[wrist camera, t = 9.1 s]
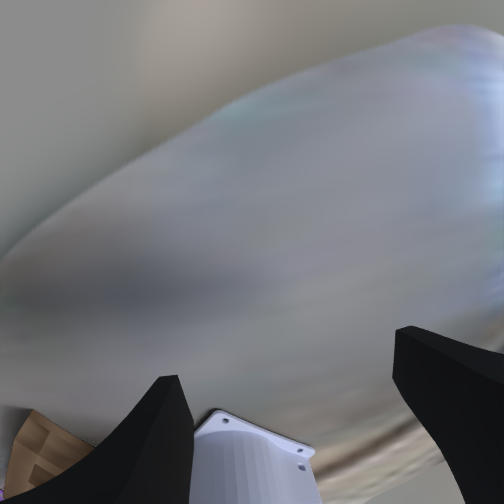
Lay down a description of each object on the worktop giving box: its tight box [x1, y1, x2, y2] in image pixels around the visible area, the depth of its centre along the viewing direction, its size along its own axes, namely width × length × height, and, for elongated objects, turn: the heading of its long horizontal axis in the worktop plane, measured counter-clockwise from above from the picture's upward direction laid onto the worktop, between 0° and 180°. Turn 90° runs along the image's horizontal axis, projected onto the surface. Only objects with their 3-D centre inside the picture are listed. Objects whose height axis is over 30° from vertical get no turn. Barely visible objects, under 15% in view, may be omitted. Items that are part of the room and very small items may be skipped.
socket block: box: [2, 409, 95, 499], centre depth 20 cm, size 9×16×4 cm, turn 144°
